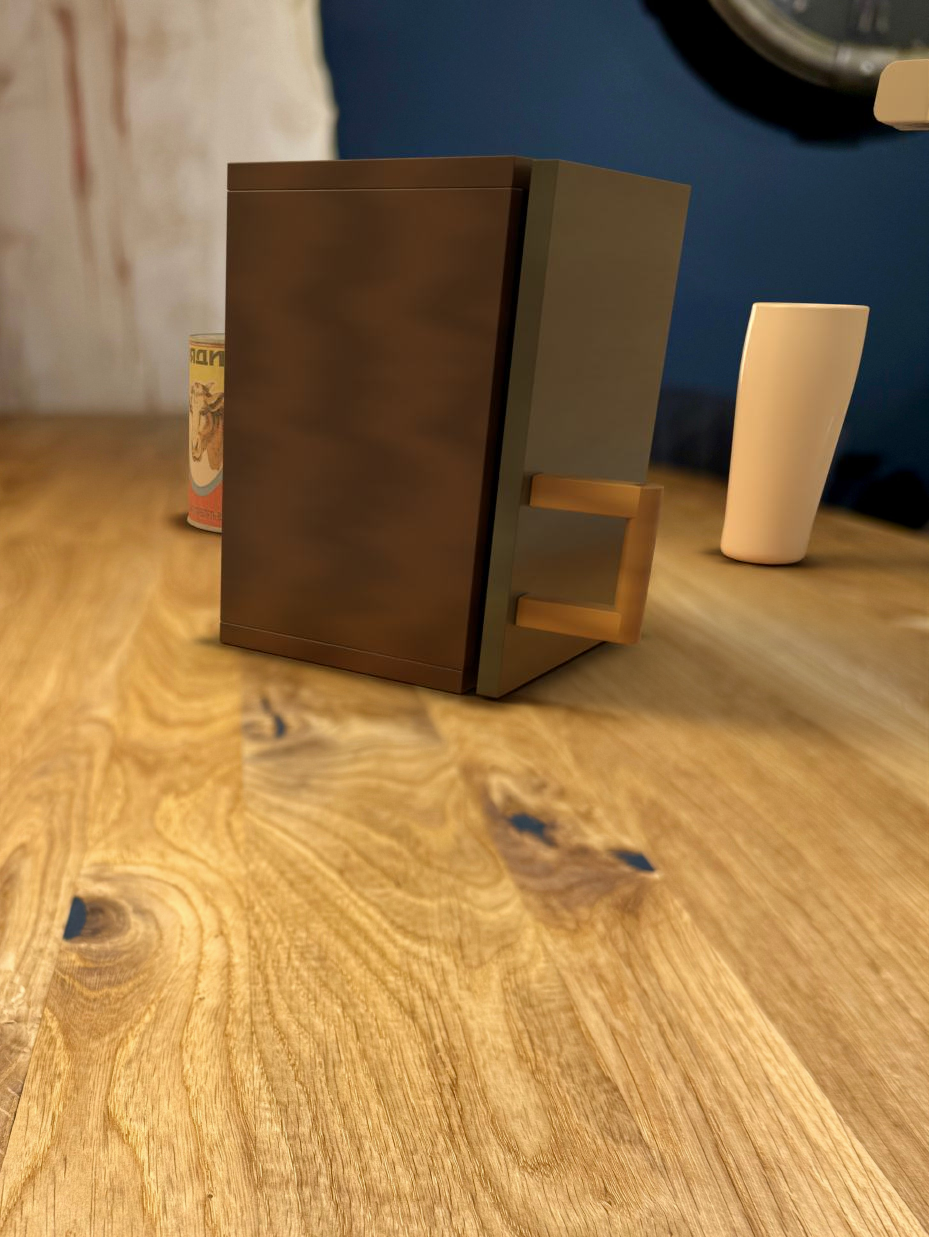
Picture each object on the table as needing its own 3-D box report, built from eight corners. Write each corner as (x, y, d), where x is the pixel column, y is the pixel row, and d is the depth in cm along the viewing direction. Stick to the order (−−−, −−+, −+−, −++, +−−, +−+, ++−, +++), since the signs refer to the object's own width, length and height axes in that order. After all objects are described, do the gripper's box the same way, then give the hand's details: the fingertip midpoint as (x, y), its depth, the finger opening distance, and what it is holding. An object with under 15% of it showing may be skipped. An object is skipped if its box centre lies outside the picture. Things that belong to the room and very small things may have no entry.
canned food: (158, 515, 94) (157, 333, 89) (287, 504, 100) (293, 332, 94) (243, 542, 86) (247, 342, 80) (379, 529, 91) (391, 341, 86)
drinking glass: (770, 546, 89) (818, 303, 82) (840, 566, 83) (897, 306, 77) (685, 550, 87) (727, 301, 80) (751, 570, 81) (802, 304, 75)
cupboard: (599, 629, 67) (664, 181, 58) (460, 694, 56) (515, 154, 47) (380, 591, 74) (409, 184, 65) (219, 642, 63) (226, 162, 54)
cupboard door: (724, 647, 64) (812, 184, 55) (614, 722, 52) (702, 155, 44) (604, 627, 67) (669, 185, 58) (475, 694, 55) (532, 159, 47)
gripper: (1410, 4, 45) (967, 33, 52) (1462, -144, 30) (830, -75, 37) (1336, 214, 47) (926, 213, 55) (1350, 174, 33) (783, 181, 40)
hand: (886, 96), depth 46 cm, fingers closed
